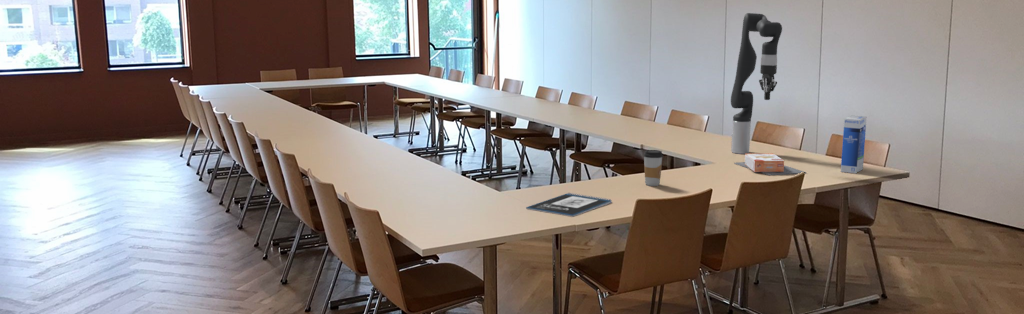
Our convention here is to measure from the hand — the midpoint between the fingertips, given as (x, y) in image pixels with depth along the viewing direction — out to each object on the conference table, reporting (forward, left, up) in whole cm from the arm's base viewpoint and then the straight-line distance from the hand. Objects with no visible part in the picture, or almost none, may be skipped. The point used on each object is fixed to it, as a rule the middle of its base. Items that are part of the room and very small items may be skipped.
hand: (767, 99), depth 422 cm
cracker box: (-3, -1, -29) cm, 30 cm away
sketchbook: (+55, -119, -34) cm, 136 cm away
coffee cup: (+26, -71, -33) cm, 83 cm away
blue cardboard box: (+21, +35, -33) cm, 53 cm away
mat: (+5, 0, -33) cm, 33 cm away
